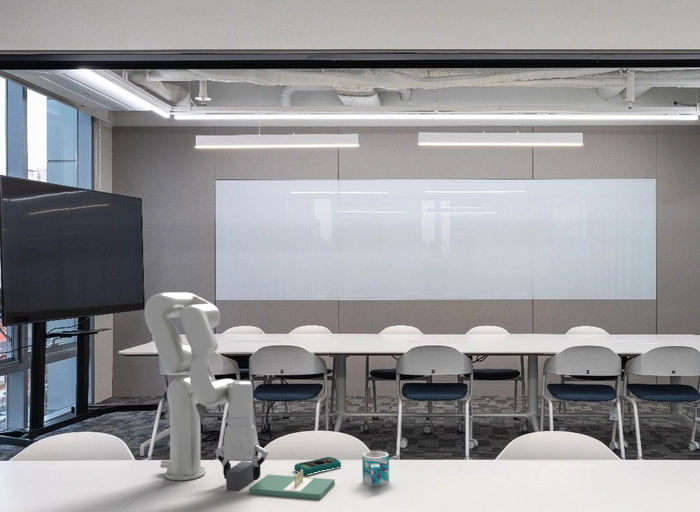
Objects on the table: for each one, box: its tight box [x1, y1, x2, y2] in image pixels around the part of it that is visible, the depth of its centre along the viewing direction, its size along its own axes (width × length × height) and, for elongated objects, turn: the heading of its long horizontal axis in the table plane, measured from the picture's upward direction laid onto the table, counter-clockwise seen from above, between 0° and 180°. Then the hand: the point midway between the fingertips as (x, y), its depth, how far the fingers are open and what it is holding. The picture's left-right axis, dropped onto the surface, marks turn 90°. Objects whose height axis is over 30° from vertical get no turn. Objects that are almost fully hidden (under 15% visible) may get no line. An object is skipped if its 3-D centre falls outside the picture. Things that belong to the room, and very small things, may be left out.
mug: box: [361, 450, 390, 486], centre depth 189 cm, size 8×12×8 cm
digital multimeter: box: [294, 456, 342, 476], centre depth 205 cm, size 7×15×3 cm, turn 129°
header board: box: [248, 470, 336, 501], centre depth 185 cm, size 22×14×5 cm, turn 74°
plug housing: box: [225, 461, 255, 492], centre depth 191 cm, size 4×14×6 cm, turn 164°
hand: (241, 478), depth 189 cm, fingers open, 9 cm apart
